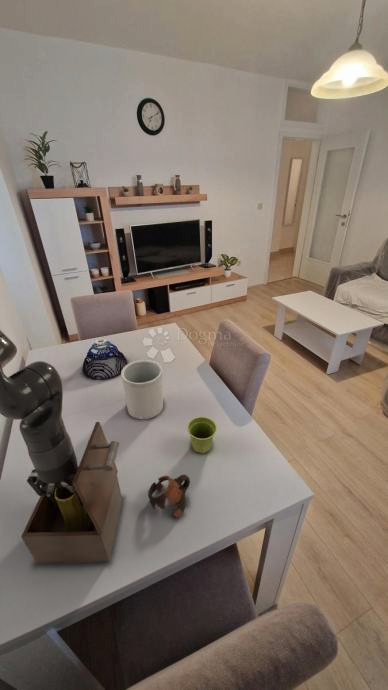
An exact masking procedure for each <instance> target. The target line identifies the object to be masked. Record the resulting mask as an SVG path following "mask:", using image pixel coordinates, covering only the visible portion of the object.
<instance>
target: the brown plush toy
mask: <svg viewBox="0 0 388 690" xmlns="http://www.w3.org/2000/svg"><path fill="white" fill-rule="evenodd" d="M157 481H158V482H157V483H156V482H155V481H154V482H152V484H151V485H150V486H149V489H148V491H147V497H148V499H149V504H150V506H151V507H152V509H153V510H156V506H157V507H158V508H160V509H161V510H165V509H166V501H167V500H168V501H167V502H169V504H170V505H171V506H174V505H175V506H176V507H177V508H176V509H175V510H174V511H173V512H172V515H173V516H174V517H175V518H176V519H178V518H179V517H180V516H181V515H182V514H183V513H184V511H185V509H186V507H187V498H186V492H187V490H188V489H189V487H190V484H191V479H190V477H189V476H188V475H187V474H181V475H179V476H178V477H176V478H173V477H171V476H169V475H162V476H160V477H158V480H157ZM165 481H168V484H167V487H166V489H164V491H163V492H162V493H161V494H160V495H157V496H153V495H154V493H155V492H156V491H162V489H163V487H164V485H163V484H162V483H164V482H165Z"/></svg>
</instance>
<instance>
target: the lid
mask: <svg viewBox="0 0 388 690" xmlns="http://www.w3.org/2000/svg"><path fill="white" fill-rule="evenodd" d="M106 438H107V437H106V435H105V433H104V430H103V427H102V425H101V422H100V421H95V423H94V426H93V429H92V431H91V434H90V437H89V439H88V441H87V444H86V446H85V449H84V452H83V454H82V457H81V459H80V462H79V464H78V470H77V472H76V475H75V477H74V480H73V483H72V484H73V485H74V487H75V489H76V491H77V493H78V495H79V497H80V499H81V501H82V503H83V505H84V507H85V509H86V510H87V512H88V514H89V516H90V518H91V520H92V522H93V524H94V526H95V528H96V530H97V532H98V534H102V533H103V529H104V525H105V521H106V517H107V513H108V509H109V505H110V501H111V497H112V493H113V489H114V485H115V481H116V476H117V477H118V472H119V470H118V468H117V466H116V458H117V454H118V451H119V448H120V442H119V441H117V440H111V441H110V443H108V441H107V439H106Z"/></svg>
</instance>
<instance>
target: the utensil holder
mask: <svg viewBox="0 0 388 690" xmlns="http://www.w3.org/2000/svg"><path fill="white" fill-rule="evenodd" d="M163 370H164V369H163V367H162V365H161V364H160V363H159V362H157V361H155V360H151V359H138V360H134V361H131V362H128V363H127V365H126V366H125V367H124V366H123V369H122V371H121V374H120V376H121V377H120V378H121V380H122V385H123V391H124V397H125V398H124V399H125V404H126V409H127V412H128V414H129V415H130V416H131V417H133V418H134V419H137V420H150V419H152V418H155V417H156V416H158V415H159V414H160V413H161V412H162V410H163V407H164V391H163V388H164V387H163Z"/></svg>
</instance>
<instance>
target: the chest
mask: <svg viewBox="0 0 388 690" xmlns="http://www.w3.org/2000/svg"><path fill="white" fill-rule="evenodd" d="M122 503H123V496H122V492H121V487H120V483H119V477H118V475H117V476H116V481H115V485H114V489H113V493H112V497H111V501H110V505H109V509H108V513H107V517H106V521H105V525H104V529H103V533H102V534H98V532H97V530H96V528H95V526H94V524H93V522H92V524H91V526H90V528H89V529H88V530H87V531H86V532H67V529H66V525H65V522H64V519H63V516H62V513H61V511H60V508H59V506H55V505H54V504H53V503H52V502H51V500H50V497H47V495H46V494H44V495H43V496H39V498H38V500H37V502H36V505H35V507H34V508H33V510H32V513H31V515H30V517H29V519H28V521H27V523H26V525H25V528H24V529H23V532H22V534H21V537H20V538H21V539H22V540H23V543H24V544H25V546H26V548H27V549H28V551H29V552H30V554H31V556H32V558H33V559H34V561H35V562H36V564H60V563H61V564H63V563H67V564H68V563H108V562H110V561H111V557H112V552H113V547H114V542H115V538H116V532H117V527H118V523H119V518H120V513H121V508H122V505H123V504H122Z"/></svg>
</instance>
